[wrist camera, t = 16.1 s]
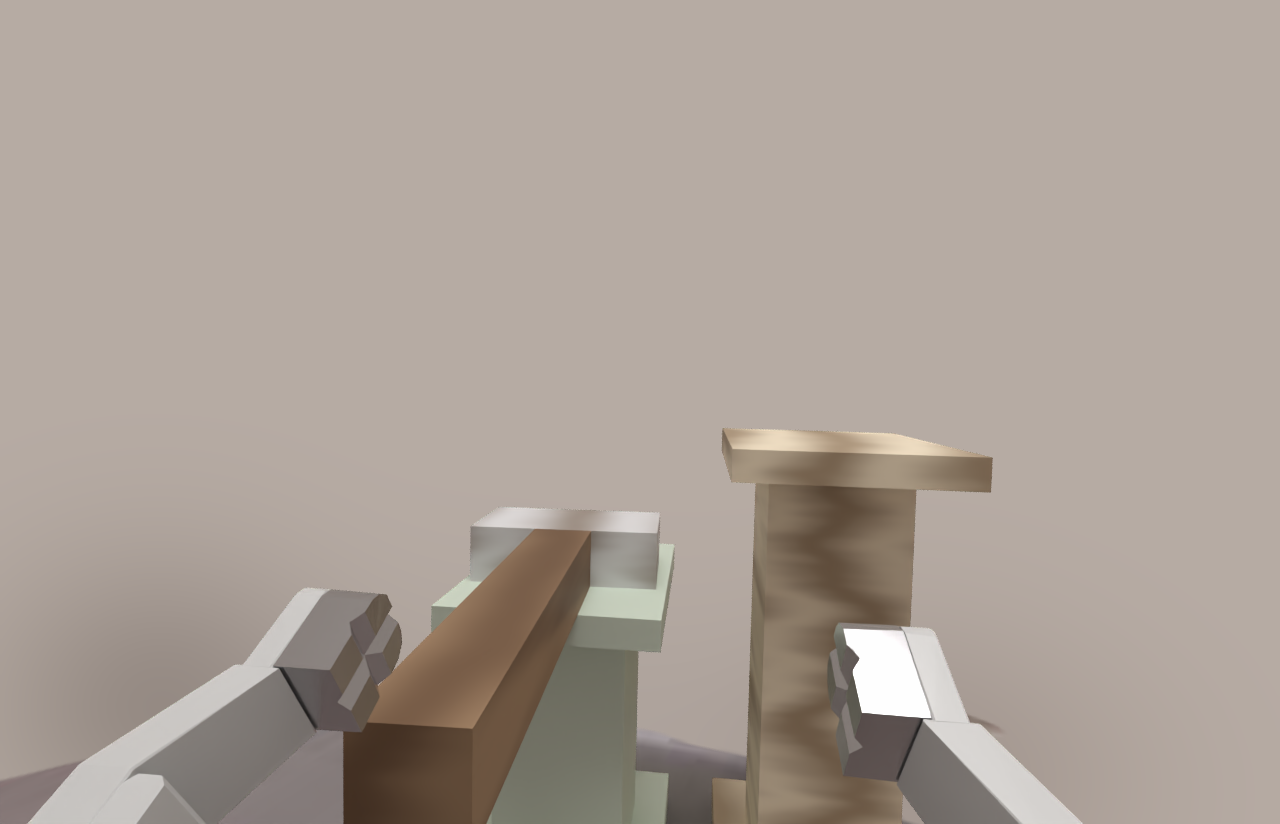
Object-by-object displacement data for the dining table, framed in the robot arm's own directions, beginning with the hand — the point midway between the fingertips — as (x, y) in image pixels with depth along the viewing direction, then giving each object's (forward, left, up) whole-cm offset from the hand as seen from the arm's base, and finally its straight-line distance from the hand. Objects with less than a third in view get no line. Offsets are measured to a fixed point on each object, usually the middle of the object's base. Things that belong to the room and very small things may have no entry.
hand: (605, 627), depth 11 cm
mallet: (-5, +13, -6) cm, 16 cm away
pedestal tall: (+9, +23, -24) cm, 34 cm away
